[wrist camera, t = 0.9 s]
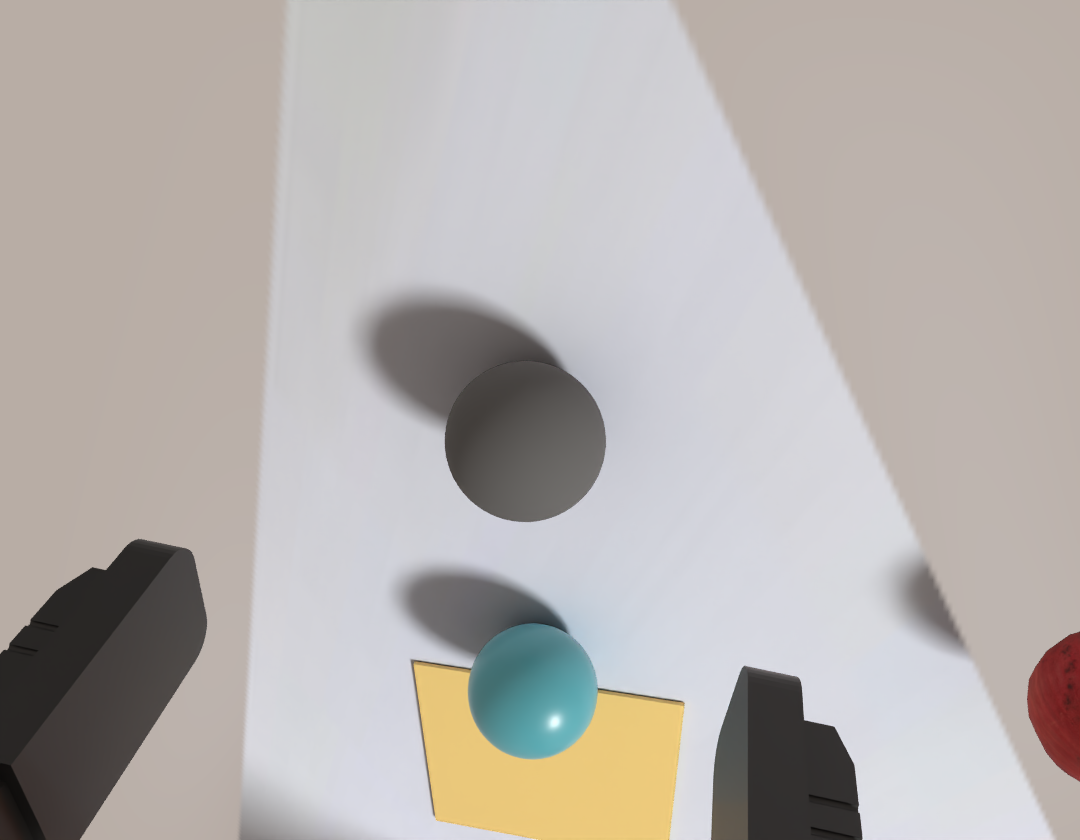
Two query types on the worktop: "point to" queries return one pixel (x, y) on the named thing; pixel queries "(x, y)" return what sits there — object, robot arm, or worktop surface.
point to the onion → (1058, 703)
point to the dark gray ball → (525, 441)
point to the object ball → (532, 691)
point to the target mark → (553, 768)
